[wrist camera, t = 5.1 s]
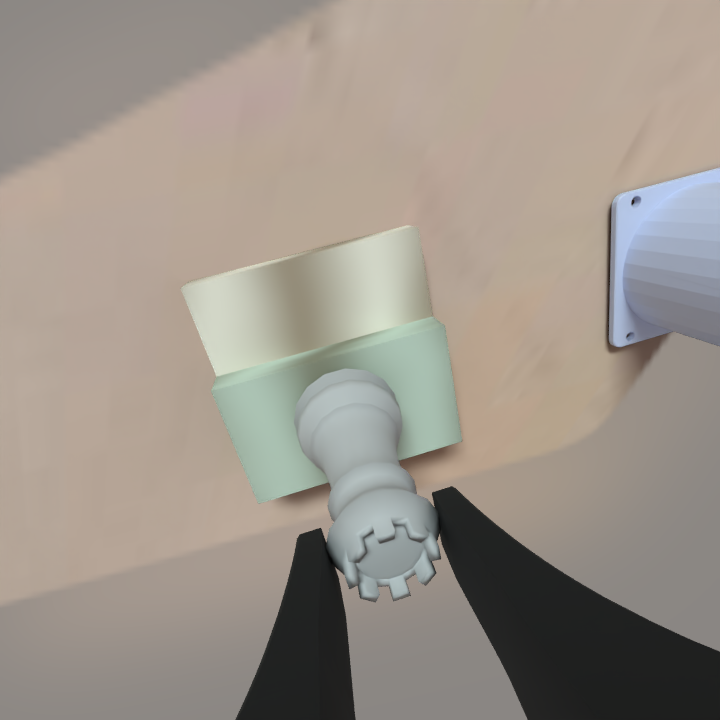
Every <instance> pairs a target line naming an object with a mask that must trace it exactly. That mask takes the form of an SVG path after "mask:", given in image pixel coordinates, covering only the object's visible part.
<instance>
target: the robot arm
mask: <svg viewBox="0 0 720 720" xmlns="http://www.w3.org/2000/svg"><path fill="white" fill-rule="evenodd" d="M633 198H634V200H635V201H634V204H633V205H631V201H632V199H633ZM670 332H677V333H680V334H683V335H686V336H690V337H693V338H696V339H699V340H702V341H705V342H708V343H711V344H714V345H717V346H720V168H716V169H712V170H708V171H704V172H701V173H697V174H693V175H689V176H685V177H682V178H678V179H674V180H670V181H666V182H663V183H659V184H655V185H651V186H647V187H643V188H640V189H636V190H632V191H628V192H624V193H621V194H619V195H617V196H616V197H615V198H614V200H613V202H612V213H611V263H610V312H609V342H610V344H611V345H613V346H616V347H623V346H626V345H630V344H633V343H637V342H640V341H643V340H647V339H650V338H653V337H657V336H660V335H663V334H667V333H670ZM628 333H629V335H628V337H627V338H626V336H627V334H628ZM432 496H433V500H434V506H435V509H436V510H437V511H438V515H439V520H440V526H441V531H440V537H441V542H442V545H443V548H444V550H445V553H446V555H447V558H448V560H449V562H450V565H451V567H452V570H453V572H454V574H455V577H456V579H457V581H458V583H459V584H460V587H461V588H462V590H463V592H464V594H465V596H466V598H467V600H468V601H469V603H470V605H471V607H472V609H473V611H474V612H475V614H476V616H477V618H478V620H479V622H480V624H481V625H482V627H483V629H484V631H485V633H486V635H487V636H488V638H489V640H490V642H491V644H492V646H493V647H494V649H495V651H496V653H497V655H498V657H499V658H500V661H501V663H502V665H503V667H504V669H505V670H506V672H507V675H508V676H509V679H510V681H511V683H512V685H513V687H514V689H515V692H516V694H517V696H518V699H519V701H520V703H521V706H522V708H523V710H524V712H525V714H526V717H527V719H528V720H720V652H719V651H717V650H714V649H712V648H710V647H707V646H704V645H702V644H700V643H697V642H695V641H692V640H690V639H688V638H686V637H684V636H681V635H679V634H677V633H675V632H673V631H671V630H668V629H666V628H664V627H662V626H660V625H658V624H655V623H653V622H651V621H649V620H648V619H646V618H644V617H642V616H639V615H638V614H636V613H634V612H632V611H630V610H628V609H626V608H624V607H622V606H620V605H618V604H617V603H615V602H613V601H611V600H609V599H607V598H605V597H603V596H601V595H600V594H598V593H596V592H595V591H593V590H591V589H589V588H587V587H586V586H584V585H582V584H581V583H579V582H577V581H575V580H574V579H573V578H571V577H569V576H568V575H566V574H564V573H563V572H561V571H560V570H558V569H557V568H555V567H554V566H552V565H550V564H549V563H548V562H546V561H544V560H543V559H542V558H540V557H539V556H537V555H536V554H535V553H533V552H532V551H530V550H529V549H527V548H526V547H525V546H523V545H522V544H521V543H519V542H518V541H517V540H515V539H514V538H513V537H511V536H510V535H509V534H508V533H506V532H505V531H504V530H503V529H501V528H500V527H499V526H497V525H496V524H495V523H494V522H493V521H491V520H490V519H489V518H488V517H487V516H485V515H484V514H483V513H482V512H481V511H480V510H478V509H477V508H476V507H475V506H474V505H473V504H472V503H471V502H470V501H468V500H467V499H466V498H465V497H464V496H463V495H462V494H461V493H460V492H459V491H458V490H457V489H456V488H454V487H452V486H451V487H449V488H445V489H442V490H439V491H436V492H433V493H432ZM350 667H351V666H350V655H349V644H348V634H347V623H346V614H345V609H344V604H343V598H342V593H341V588H340V583H339V578H338V575H337V572H336V569H335V566H333V565H332V563H331V560H330V557H329V555H328V552H327V549H326V541H325V538H324V535H323V533H322V529H321V528H319V529H316V530H313V531H309V532H306V533H303V534H300V535H299V537H298V538H297V542H296V548H295V553H294V558H293V562H292V567H291V570H290V574H289V578H288V582H287V586H286V589H285V593H284V596H283V600H282V603H281V606H280V609H279V612H278V616H277V618H276V622H275V624H274V627H273V630H272V633H271V636H270V638H269V641H268V644H267V647H266V650H265V653H264V655H263V658H262V660H261V663H260V665H259V668H258V670H257V673H256V675H255V678H254V680H253V682H252V684H251V687H250V689H249V691H248V694H247V696H246V698H245V700H244V703H243V705H242V707H241V709H240V711H239V713H238V715H237V718H236V720H355V712H354V700H353V689H352V678H351V668H350Z"/></svg>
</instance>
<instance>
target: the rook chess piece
mask: <svg viewBox="0 0 720 720" xmlns="http://www.w3.org/2000/svg"><path fill="white" fill-rule="evenodd" d="M294 425H295V428H296V431H297V437H298V440H299V443H300V446H301V449H302V451H303V453H304V454H305V456H306V457H307V458H308V459H309V460H310V461H311V462H312V463H313V464H314V465H315V466H316V467H317V468H319V469H320V470H321V471H322V472H324V473H325V474H326V476H327V479H328V481H329V484H330V486H331V492H330V496H329V501H328V510H329V513H330V516H331V519H332V520H333V521H334V523H333V525H332V526H331V528H330V529H329V532H328V538H327V543H326V549H327V552H328V555H329V557H330V560H331V563H332V565H333V566H335V567H336V568H337V569H338V570H339V571H341V572H342V573H343V574H344V575H345V578H346V580H347V584H348V587H349V589H351V588H353V587H355V586H357V585H358V589H359V595H360V598H361V599H365V600H368V601H373V602H376V601H377V599H378V597H379V595H380V594H379V590H378V587H382V586H389V588H390V591H391V595H392V599H393V601H396V600H399V599H402V598H405V597H408V596H411V595H410V592H409V589H408V586H407V583H406V580H407V579H409V578H410V577H412V576H414V575H415V574H416V575H417V578H418V581H419V582H420V583H422V584H424V585H427V584H428V583H429V581H430V580H431V579H432V578H433V577H434V575H435V574H436V571H435V568H434V566H433V564H432V561H434V560H439V559H441V556H440V551H439V546H438V544H437V540H438V537H439V534H440V531H441V526H440V520H439V515H438V511H437V510H436V509H435V508H434V507H433V505H432V504H431V503H430V502H429V501H428V499H426V498H424V497H421V496H419V495H416V494H417V492H416V487H415V482H414V479H413V478H412V477H411V476H410V475H409V473H408V472H407V471H406V470H405V469H403V468H401V466H400V463H399V460H398V456H397V447H398V443H399V439H400V435H401V431H402V427H403V425H402V417H401V412H400V407H399V404H398V402H397V401H396V397H395V393H394V392H393V391H392V389H391V388H390V387H389V385H388V384H387V383H386V382H385V380H384V379H382V378H380V377H378V376H376V375H375V374H373V373H371V372H369V371H367V370H357V369H346V368H345V369H342V370H338V371H335V372H331V373H327V374H324V375H323V376H321V377H320V378H319V379H317V380H316V381H315V382H313V383H312V384H310V385H309V386H308V387H307V388H306V389H305V391H304V393H303V394H302V396H301V397H300V399H299V401H298V402H297V404H296V410H295V418H294Z"/></svg>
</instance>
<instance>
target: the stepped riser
mask: <svg viewBox="0 0 720 720" xmlns="http://www.w3.org/2000/svg"><path fill="white" fill-rule="evenodd" d="M181 290H182V293H183V295H184V298H185V300H186V303H187V305H188V308H189V310H190V312H191V315H192V317H193V320H194V322H195V325H196V327H197V330H198V332H199V335H200V337H201V339H202V342H203V344H204V347H205V349H206V352H207V354H208V357H209V359H210V362H211V364H212V366H213V369H214V371H215V374H216V376H217V377H216V380H215V382H214V385H213V388H212V390H211V392H212V394H213V397H214V399H215V401H216V404H217V406H218V409H219V411H220V413H221V416H222V418H223V421H224V423H225V425H226V428H227V430H228V432H229V435H230V437H231V440H232V442H233V444H234V447H235V449H236V451H237V454H238V456H239V459H240V461H241V463H242V466H243V468H244V471H245V473H246V475H247V478H248V480H249V482H250V485H251V487H252V490H253V492H254V494H255V497H256V499H257V501H258V504H260V503H263V502H266V501H269V500H273V499H276V498H279V497H282V496H286V495H289V494H292V493H295V492H299V491H302V490H305V489H308V488H312V487H315V486H318V485H321V484H325V483H328V482H329V481H328V479H327V476H326V474H325V473H324V472H322V471H321V470H320V469H319V468H317V467H316V466H315V465H314V464H313V463H312V462H311V461H310V460H309V459H308V458H307V457H306V456H305V454H304V453H303V451H302V449H301V446H300V443H299V440H298V437H297V431H296V428H295V425H294V418H295V410H296V404H297V402H298V401H299V399H300V397H301V396H302V394H303V393H304V391H305V389H306V388H307V387H308V386H309V385H310V384H312V383H313V382H315V381H316V380H317V379H319V378H320V377H321V376H323V375H324V374H327V373H331V372H335V371H338V370H342V369H345V368H346V369H357V370H367V371H369V372H371V373H373V374H375V375H376V376H378V377H380V378H382V379H384V380H385V382H386V383H387V384H388V385H389V387H390V388H391V389H392V391H393V392H394V393H395V397H396V401H397V402H398V404H399V407H400V412H401V417H402V425H403V427H402V431H401V435H400V439H399V443H398V447H397V456H398V460H403V459H406V458H409V457H413V456H416V455H419V454H422V453H426V452H429V451H432V450H435V449H439V448H442V447H445V446H448V445H452V444H455V443H458V442H461V441H462V437H461V430H460V424H459V417H458V410H457V403H456V397H455V390H454V383H453V377H452V370H451V363H450V357H449V350H448V343H447V337H446V330H445V325H444V324H442V323H441V322H439V321H438V320H437V319H435V318H434V317H433V316H432V310H431V303H430V297H429V291H428V285H427V278H426V272H425V266H424V260H423V254H422V247H421V241H420V235H419V229H418V227H415V226H409V225H407V226H403V227H399V228H395V229H392V230H388V231H384V232H380V233H376V234H372V235H368V236H364V237H361V238H357V239H353V240H349V241H345V242H341V243H337V244H333V245H329V246H326V247H322V248H318V249H314V250H310V251H306V252H302V253H298V254H295V255H291V256H287V257H283V258H279V259H275V260H271V261H267V262H263V263H260V264H256V265H252V266H248V267H244V268H240V269H236V270H232V271H229V272H225V273H221V274H217V275H213V276H209V277H205V278H201V279H197V280H194V281H190V282H188V283H187V284H185V285H184V286H183V287H182V288H181Z"/></svg>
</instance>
